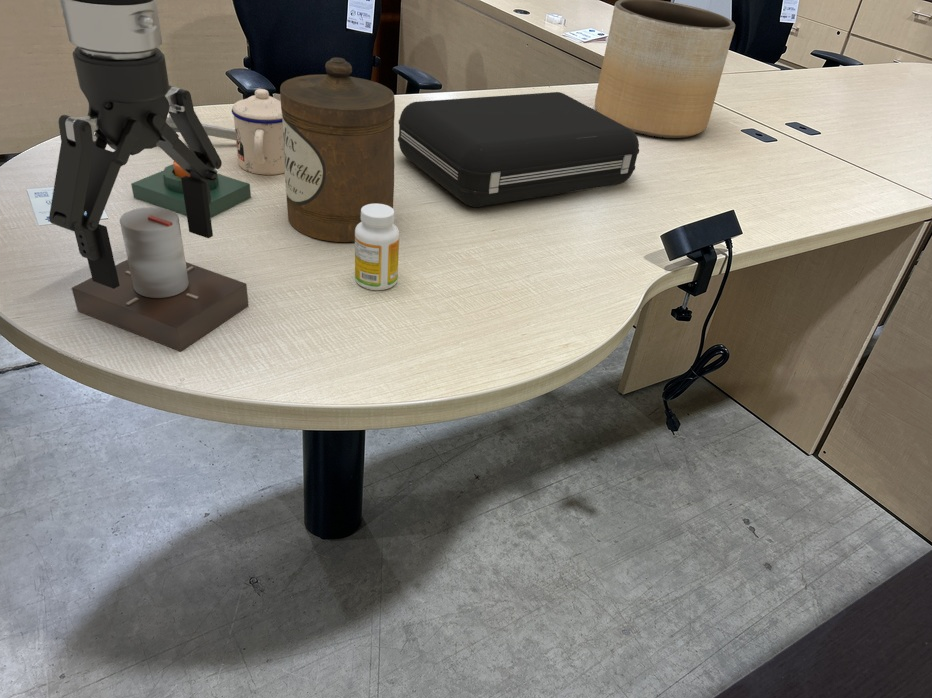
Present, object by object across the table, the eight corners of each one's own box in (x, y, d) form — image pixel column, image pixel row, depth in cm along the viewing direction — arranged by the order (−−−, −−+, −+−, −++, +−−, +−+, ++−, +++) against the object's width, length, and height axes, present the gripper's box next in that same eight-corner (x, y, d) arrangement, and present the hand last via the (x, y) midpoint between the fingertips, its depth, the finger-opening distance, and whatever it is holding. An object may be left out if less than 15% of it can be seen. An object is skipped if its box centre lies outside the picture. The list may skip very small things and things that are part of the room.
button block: (133, 198, 103) (128, 170, 100) (184, 176, 111) (181, 150, 108) (203, 222, 100) (200, 194, 98) (251, 197, 108) (248, 171, 105)
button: (168, 174, 102) (166, 162, 101) (189, 166, 105) (187, 154, 104) (191, 182, 101) (190, 170, 100) (211, 173, 104) (210, 161, 103)
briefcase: (536, 126, 150) (543, 76, 144) (638, 188, 131) (652, 133, 125) (374, 142, 131) (375, 85, 125) (466, 217, 112) (472, 153, 106)
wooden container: (281, 199, 109) (270, 40, 95) (379, 196, 114) (383, 45, 101) (295, 246, 98) (286, 75, 85) (403, 240, 103) (411, 79, 90)
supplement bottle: (388, 267, 97) (390, 198, 91) (403, 288, 93) (407, 217, 88) (349, 273, 95) (348, 202, 89) (363, 294, 91) (363, 222, 85)
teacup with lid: (241, 152, 120) (234, 78, 113) (299, 156, 122) (295, 84, 115) (229, 181, 111) (221, 103, 104) (291, 186, 113) (287, 109, 106)
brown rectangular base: (77, 311, 81) (70, 286, 79) (152, 270, 89) (148, 247, 87) (180, 351, 77) (176, 326, 75) (248, 305, 86) (246, 282, 84)
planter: (724, 144, 157) (759, 33, 144) (615, 138, 151) (640, 22, 137) (677, 105, 176) (704, 4, 163) (578, 98, 170) (597, -7, 156)
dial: (121, 288, 80) (106, 217, 75) (160, 267, 84) (147, 199, 79) (163, 303, 79) (150, 233, 74) (199, 282, 83) (190, 213, 78)
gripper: (28, 86, 56) (89, 320, 69) (243, 34, 75) (260, 225, 88) (-45, 64, 58) (28, 296, 70) (183, 19, 77) (208, 208, 90)
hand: (156, 257), depth 79 cm, fingers open, 13 cm apart
